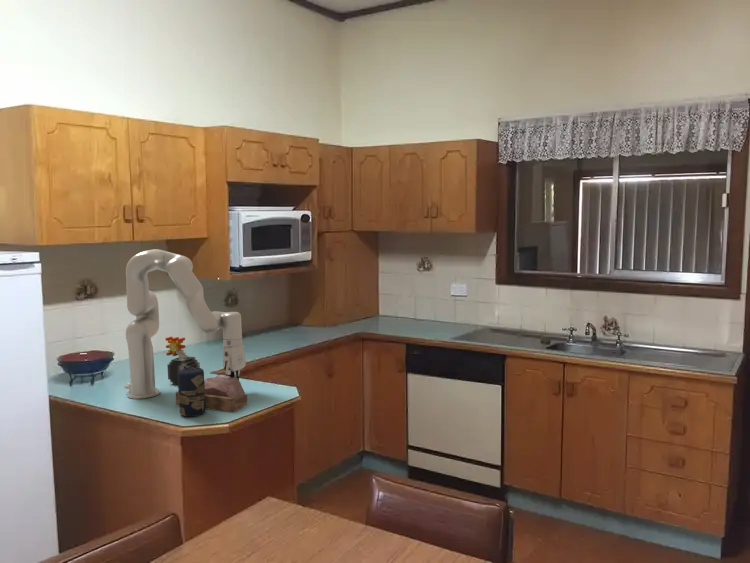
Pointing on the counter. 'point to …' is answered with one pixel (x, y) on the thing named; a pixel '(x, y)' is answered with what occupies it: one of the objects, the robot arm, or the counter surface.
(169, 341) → the bomb
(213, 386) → the stone
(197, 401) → the canister
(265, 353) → the counter surface
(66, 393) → the counter surface
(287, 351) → the counter surface
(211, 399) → the stop cradle
